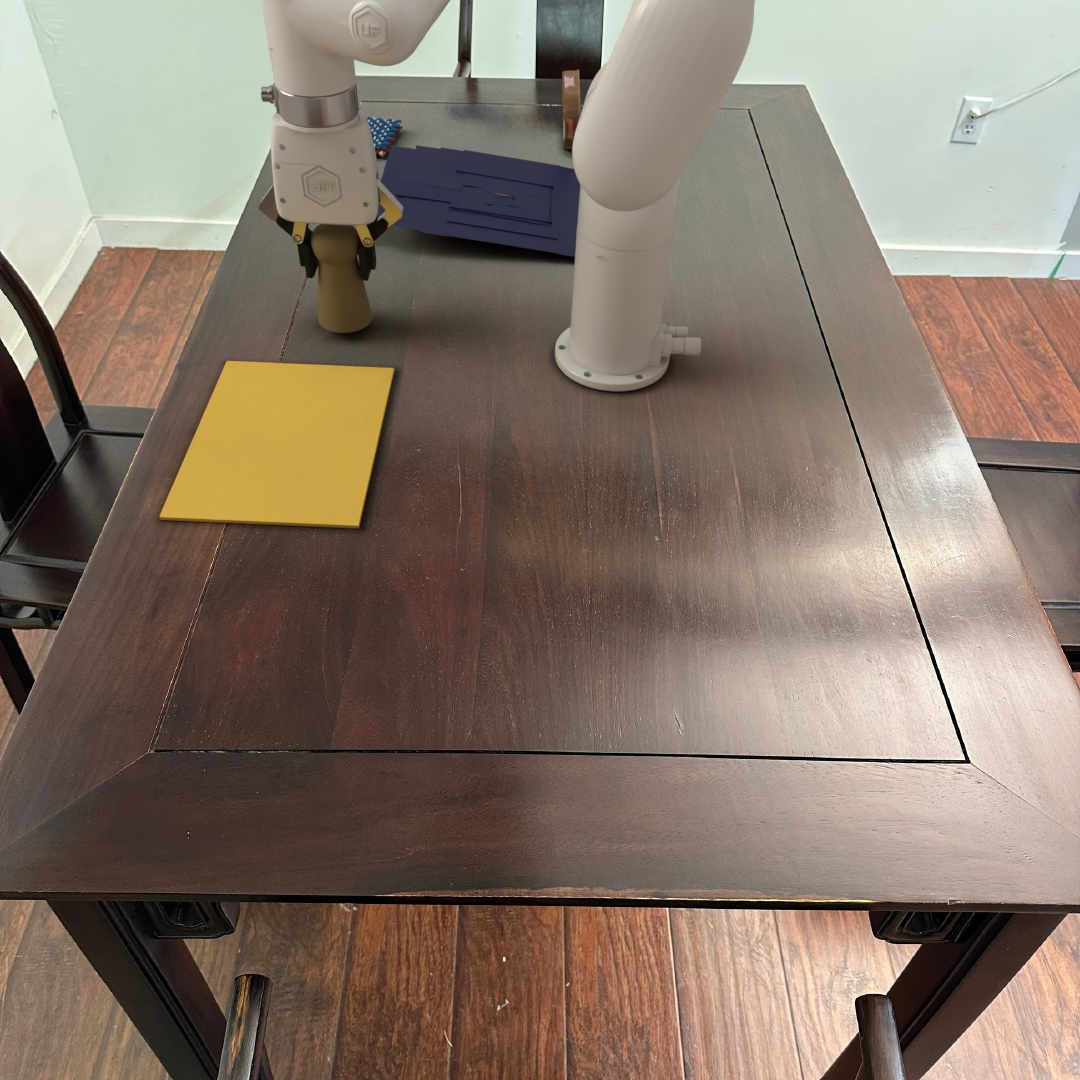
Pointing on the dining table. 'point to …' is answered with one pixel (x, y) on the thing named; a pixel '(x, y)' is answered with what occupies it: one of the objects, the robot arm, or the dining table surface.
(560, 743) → the dining table surface
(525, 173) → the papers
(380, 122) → the woven mat
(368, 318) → the tan pawn
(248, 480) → the board
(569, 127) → the tin
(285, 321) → the dining table surface
